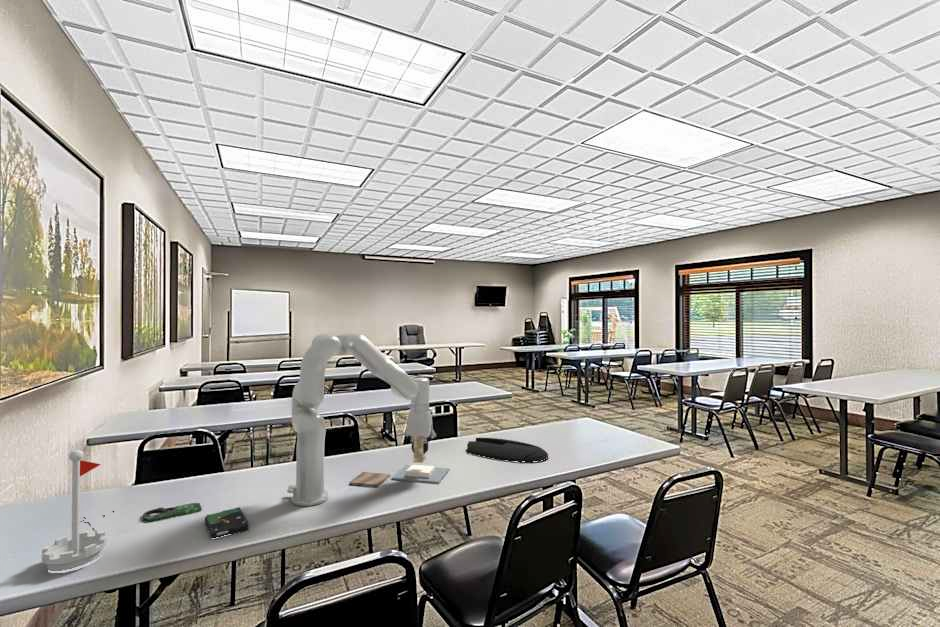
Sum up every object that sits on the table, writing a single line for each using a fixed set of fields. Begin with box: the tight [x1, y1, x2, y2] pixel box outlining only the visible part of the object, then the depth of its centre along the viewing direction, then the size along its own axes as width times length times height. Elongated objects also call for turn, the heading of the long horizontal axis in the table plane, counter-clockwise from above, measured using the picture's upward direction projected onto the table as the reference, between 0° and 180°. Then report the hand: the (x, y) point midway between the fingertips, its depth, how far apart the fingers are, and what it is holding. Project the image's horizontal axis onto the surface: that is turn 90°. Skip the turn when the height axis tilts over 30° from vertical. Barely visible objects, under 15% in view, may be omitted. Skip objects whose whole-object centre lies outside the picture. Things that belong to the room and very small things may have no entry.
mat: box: [391, 464, 451, 485], centre depth 187 cm, size 20×16×1 cm
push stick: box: [413, 436, 427, 464], centre depth 185 cm, size 4×4×11 cm
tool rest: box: [348, 471, 391, 488], centre depth 180 cm, size 12×12×1 cm
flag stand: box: [41, 449, 108, 571], centre depth 120 cm, size 13×13×30 cm
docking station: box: [466, 437, 549, 462], centre depth 217 cm, size 25×40×5 cm, turn 60°
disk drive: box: [204, 507, 250, 539], centre depth 140 cm, size 10×3×15 cm
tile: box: [406, 464, 436, 478], centre depth 185 cm, size 10×2×8 cm
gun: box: [142, 502, 203, 523], centre depth 150 cm, size 16×2×10 cm
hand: (419, 451), depth 185 cm, fingers closed on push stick, 4 cm apart
